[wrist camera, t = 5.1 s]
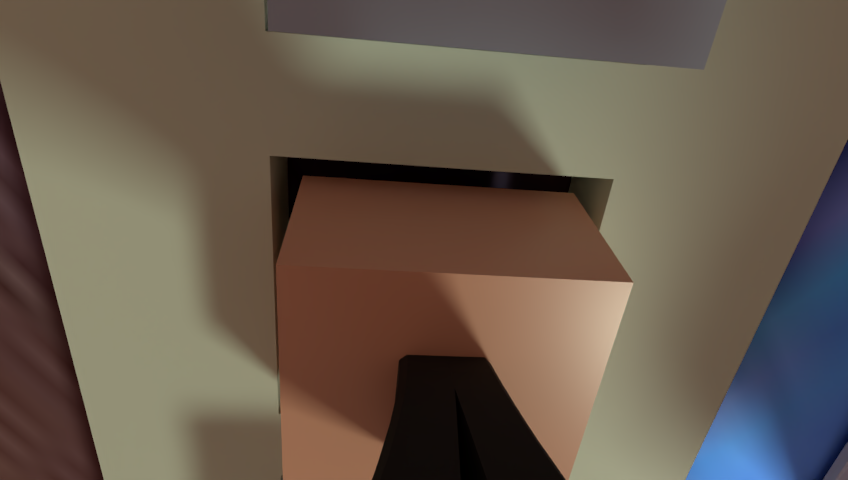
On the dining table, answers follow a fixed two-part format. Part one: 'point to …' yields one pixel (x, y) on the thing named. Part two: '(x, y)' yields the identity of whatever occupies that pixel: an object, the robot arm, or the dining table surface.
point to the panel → (404, 145)
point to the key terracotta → (436, 310)
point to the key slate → (520, 26)
